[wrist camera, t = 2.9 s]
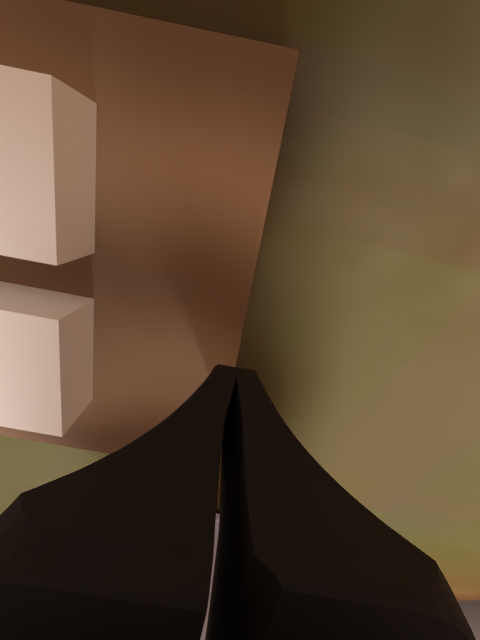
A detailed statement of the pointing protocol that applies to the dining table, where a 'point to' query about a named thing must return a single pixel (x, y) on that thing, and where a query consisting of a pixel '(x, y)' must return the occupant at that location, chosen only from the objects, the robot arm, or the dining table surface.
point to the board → (157, 199)
